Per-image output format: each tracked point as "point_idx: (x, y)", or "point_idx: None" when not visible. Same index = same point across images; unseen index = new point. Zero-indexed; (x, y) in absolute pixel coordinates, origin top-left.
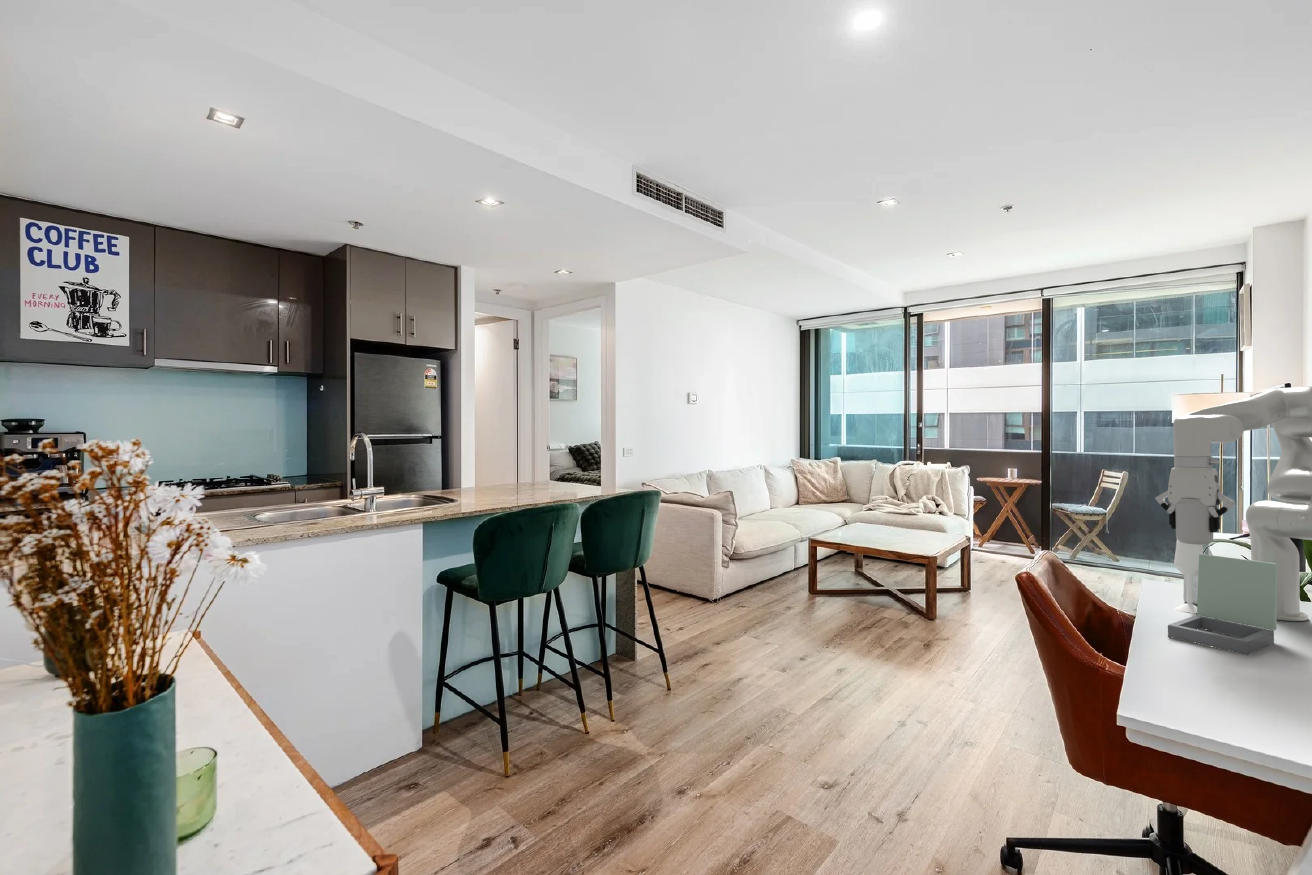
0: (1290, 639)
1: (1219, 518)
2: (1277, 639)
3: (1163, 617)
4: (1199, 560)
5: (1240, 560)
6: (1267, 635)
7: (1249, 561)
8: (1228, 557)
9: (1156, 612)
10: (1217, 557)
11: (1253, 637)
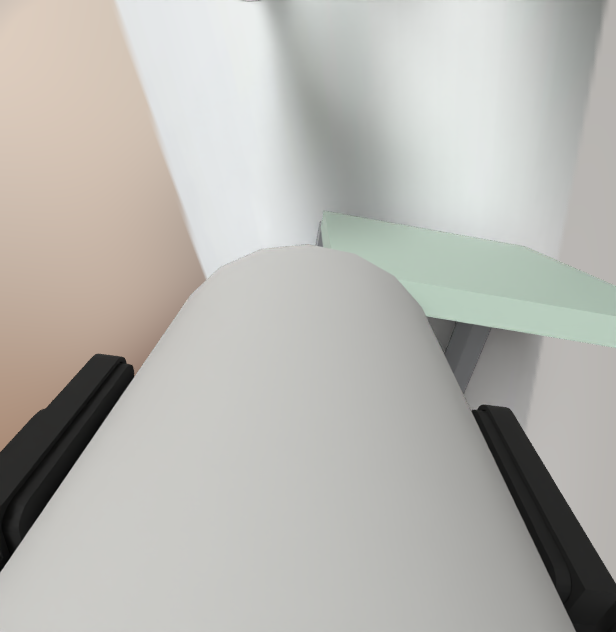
0: (549, 168)
1: (610, 611)
2: (514, 200)
3: (220, 172)
4: None
5: (544, 332)
6: None
7: (587, 340)
8: (488, 304)
9: (179, 106)
10: (428, 315)
11: (463, 381)
